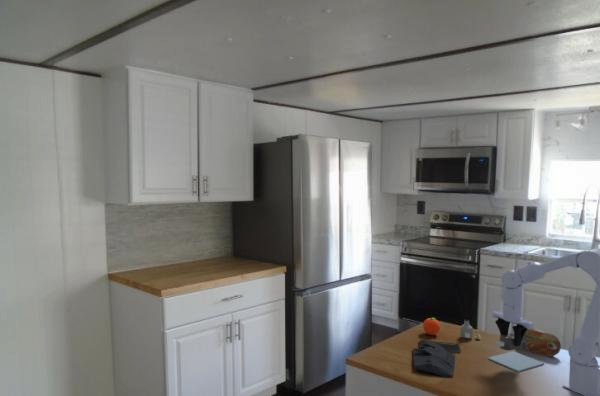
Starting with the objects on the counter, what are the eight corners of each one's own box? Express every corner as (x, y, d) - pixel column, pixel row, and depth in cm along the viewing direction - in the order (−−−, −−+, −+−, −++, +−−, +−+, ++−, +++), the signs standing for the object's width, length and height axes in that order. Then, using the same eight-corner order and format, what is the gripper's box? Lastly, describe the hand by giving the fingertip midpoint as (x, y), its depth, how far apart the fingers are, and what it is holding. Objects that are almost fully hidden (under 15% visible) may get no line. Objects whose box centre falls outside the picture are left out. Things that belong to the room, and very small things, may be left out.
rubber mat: (543, 364, 152) (543, 363, 152) (518, 372, 146) (518, 370, 145) (513, 352, 163) (513, 351, 163) (488, 358, 156) (488, 357, 156)
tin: (516, 347, 168) (517, 325, 168) (520, 345, 170) (521, 324, 170) (557, 360, 156) (558, 337, 156) (561, 358, 158) (562, 335, 158)
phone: (419, 339, 172) (458, 344, 168) (419, 342, 172) (458, 346, 168) (419, 346, 165) (460, 351, 161) (419, 349, 165) (460, 354, 161)
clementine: (428, 330, 186) (429, 313, 186) (443, 334, 181) (444, 317, 181) (419, 334, 180) (420, 317, 180) (435, 338, 176) (435, 321, 175)
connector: (524, 348, 149) (525, 336, 149) (502, 351, 145) (503, 339, 145) (515, 343, 153) (515, 332, 152) (493, 347, 149) (494, 335, 149)
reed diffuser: (456, 339, 175) (457, 291, 175) (452, 333, 182) (454, 287, 182) (482, 341, 174) (484, 292, 173) (478, 335, 181) (479, 288, 180)
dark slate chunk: (406, 373, 145) (407, 359, 145) (413, 349, 165) (413, 337, 165) (455, 381, 139) (455, 366, 139) (455, 355, 160) (456, 343, 160)
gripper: (539, 308, 144) (538, 348, 145) (501, 298, 157) (500, 334, 158) (526, 311, 141) (524, 352, 141) (488, 300, 154) (487, 337, 154)
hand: (510, 343), depth 149 cm, fingers closed on connector, 4 cm apart
